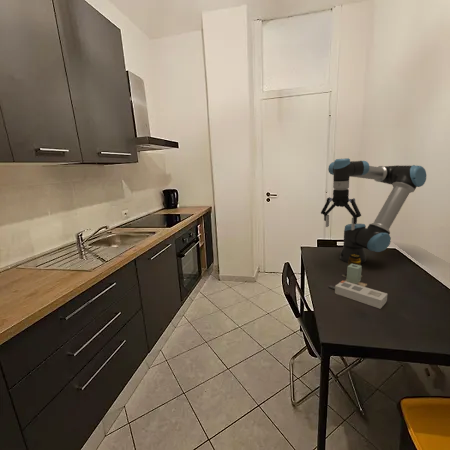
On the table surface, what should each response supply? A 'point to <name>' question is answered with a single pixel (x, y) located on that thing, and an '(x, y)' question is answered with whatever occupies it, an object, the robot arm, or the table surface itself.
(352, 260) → the condiment
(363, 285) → the cork coaster
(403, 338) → the table surface
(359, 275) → the block
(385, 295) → the power strip
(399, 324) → the table surface
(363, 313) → the table surface
